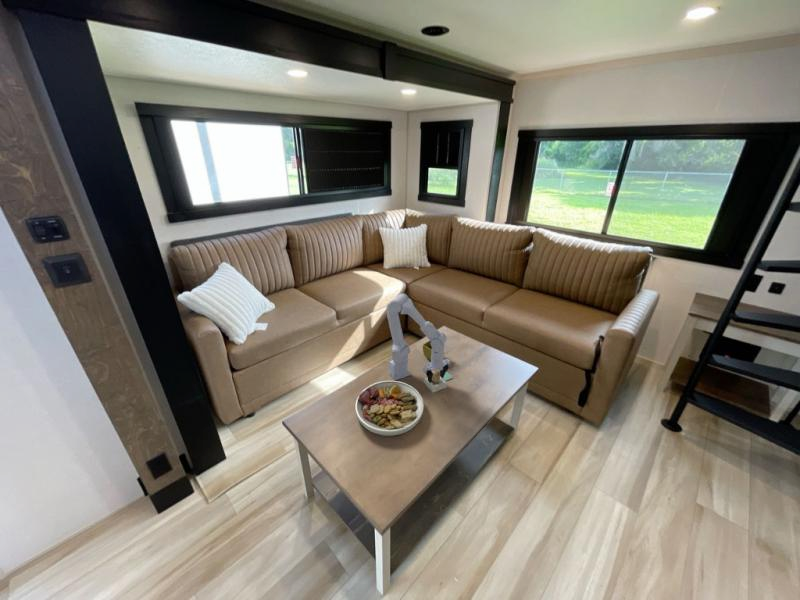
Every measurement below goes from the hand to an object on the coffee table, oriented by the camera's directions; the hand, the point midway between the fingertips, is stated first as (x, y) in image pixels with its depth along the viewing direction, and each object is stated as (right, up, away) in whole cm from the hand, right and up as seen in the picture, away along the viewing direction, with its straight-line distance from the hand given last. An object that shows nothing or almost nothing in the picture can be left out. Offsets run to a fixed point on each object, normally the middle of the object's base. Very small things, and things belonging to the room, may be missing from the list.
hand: (435, 379), depth 152 cm
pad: (+6, -1, +7) cm, 9 cm away
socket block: (0, -3, +2) cm, 4 cm away
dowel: (0, -3, +2) cm, 4 cm away
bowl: (-22, -11, -14) cm, 28 cm away
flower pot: (+1, +6, +21) cm, 22 cm away
